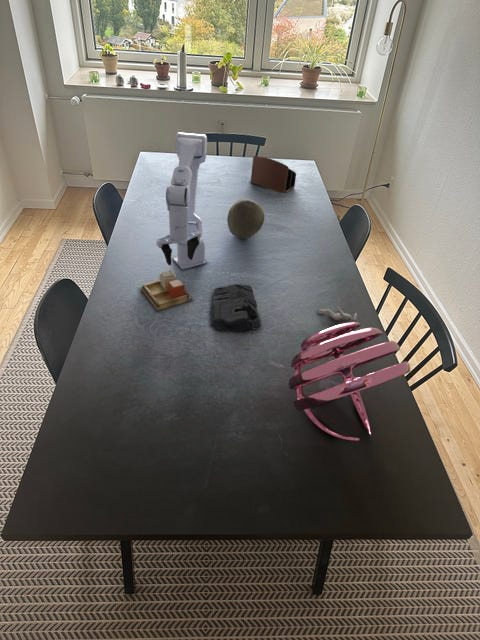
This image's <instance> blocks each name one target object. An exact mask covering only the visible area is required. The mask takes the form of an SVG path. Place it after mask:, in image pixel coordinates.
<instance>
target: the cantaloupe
mask: <svg viewBox="0 0 480 640" xmlns="http://www.w3.org/2000/svg"><path fill="white" fill-rule="evenodd" d="M226 220H227V221H226V223H227V227H228V230H229V232H230V234H231V235H233V236H234V237H235V238H237V239H249V238H251V237H253V236H255V235H256V234H257V233H258V232H259V231H260V230H261V229H262V227H263V225H264V222H265V212H264V210H263V208H262V206H261V205H260V204H259V203H258V202H256V201H254V200H252V199H249V198H243V199H239V200H238V201H236V202H234V203H233V205H232V206H231V207H230V208H229V210H228V213H227V217H226Z"/></svg>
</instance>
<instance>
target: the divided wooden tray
mask: <svg viewBox="0 0 480 640" xmlns="http://www.w3.org/2000/svg"><path fill="white" fill-rule="evenodd" d="M140 290H141V291H142V293H143V294H144V295H145V297H146V298H147V299H148V301H149V302H150V303H151V304H152V306H153V307H154V309H155V310H156V311H157V312H158V311H161V310H164V309H168V308H171V307H174V306H178V305H181V304H184V303H187V302H190V301H191V300H192V299H191V297H190V294H189V293H188V292H187V291H186V289H184V292H185V295H183V296H180V297H176V298H173V299H172V298H171V296H170V295H169V294H168V288H166V289H164V288H163V286H162V285H161V283H160V279H158V280H154V281H151V282H148V283H143V284H142V285H141V287H140Z"/></svg>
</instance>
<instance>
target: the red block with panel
mask: <svg viewBox="0 0 480 640" xmlns="http://www.w3.org/2000/svg"><path fill="white" fill-rule="evenodd" d="M184 290H185V284H183V282H182V281H181V280H180V279H176V280H174V281H171V282H168V294H169V295H170V296H171V298H172V299H173V298H176V297H180V296H183V295H185V292H184Z"/></svg>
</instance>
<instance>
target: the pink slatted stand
mask: <svg viewBox="0 0 480 640" xmlns="http://www.w3.org/2000/svg"><path fill="white" fill-rule="evenodd" d="M360 327H361V323H360V322H358V321H346V322H342V323H338V324H335V325H333V326H330V327H329V326H328V327H327V328H324V329H322V330H319V331H317V332H315V333H313V334H311V335H309V336H308V337H306V338H305V339H303V341H302V342H301V344H300V348H301V349H300V351H299V353H297V354H296V355H294V356H293V357H292V360H291V361H290V367H291V368H294V373H293V376H291V377H289V379H288V388H289V390H294V391H295V393H296V400H293V402H292V403H293V406H294V409H295V410H296V412H303V413H305V414H306V416H307V417H308V419H309V420H310V421H311V422H312V423H313V424H314V425H315V426H316V427H317V428H319V429H320V430H321V431H323V432H324V433H325V434H327V435H329V436H332V437H334V438H336V439H339V440H342V441H347V442H360V441H361V440H360V438H359V437H354V436H353V437H352V436H347V435H343V434H340V433H338V432H336V431H334V430H332V429H330V428H328V427H327V426H326V425H324V423H322V422H321V421H320V420H319V419H318V418H317V417H316V415H315V414H314V412H313V411H312V408H315V407H318V406H322V405H324V404H326V403H330V402H332V401H336V400H338V399H339V400H340V399H341V398H344V397H348V396H349V397H350V399H351V400H352V403H353V405H354V407H355V410H356V412H357V414H358V416H359V419H360V421H361V423H362V425H363V428H364V429H365V431H366V433H367V435H368V436H369V437H372V429H371V424H370V421H369V417H368V414H367V411H366V407H365V404H364V401H363V398H362V396H361V391H364V390H367V389H369V388H372V387H376V386H378V385H381V384H383V383H386V382H389V381H392V380H394V379H397V378H400V377H402V376H404V375H407V374H409V373H410V372H411V366H410V364H409V361H406V360H404V361H402V362H400V363H397V364H394V365H391V366H389V367H385V368H382V369H380V370H377V371H374V372H372V373H369V374H366V375H364V376H361V377H356V376H354V375H353V370H355V369H356V368H359V367H361V366H364V365H367V364H369V363H372V362H374V361H377V360H380V359H382V358H385V357H388V356H390V355H392V354H394V353H397V352H400V350H401V347H400V345H399V344H398V343H397V341H394V340H389V341H385V342H382V343H378V344H375V345H372V346H369V347H366V348H363V349H360V350H356V351H354V352H351V353H349V354H345V352H347V351H348V350H351V349H354V348H356V347H358V346H361V345H363V344H366V343H368V342H371V341H372V340H375V339H377V338H379V337H380V336H382V335H383V331H382V330H381V329H379V328H377V327H374V326H370V327H365V328H361V329H358V328H360ZM331 357H333V358H335V359H332V360H330V361H327V362H324V363H321V364H319V365H316V366H314V367H312V368H309V369H307V370H304V371H302V372H301V369H302V367H303V366H306V365H308V364H312V363H315V362H317V361H321V360H324V359H327V358H331ZM338 375H339V376H341V377H342V382H341V383H340V384H338V385H335V386H332V387H330V388H327V389H324V390H321V391H318V392H316V393H313V394H310V395H305V394H304V392H303V391H304V390H303V387H306V386H307V385H310V384H313V383H316V382H319V381H323V380H325V379H328V378H331V377H333V376H338Z"/></svg>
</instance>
